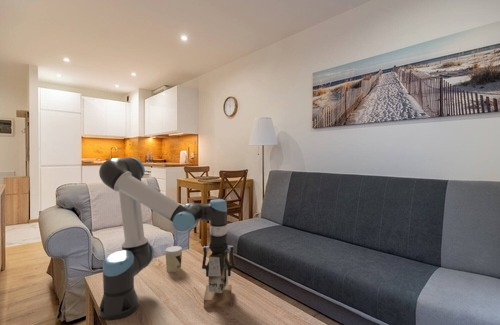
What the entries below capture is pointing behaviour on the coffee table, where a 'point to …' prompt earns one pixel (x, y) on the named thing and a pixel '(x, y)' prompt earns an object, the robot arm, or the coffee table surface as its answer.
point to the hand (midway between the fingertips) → (218, 282)
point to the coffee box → (217, 272)
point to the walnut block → (218, 298)
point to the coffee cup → (173, 258)
